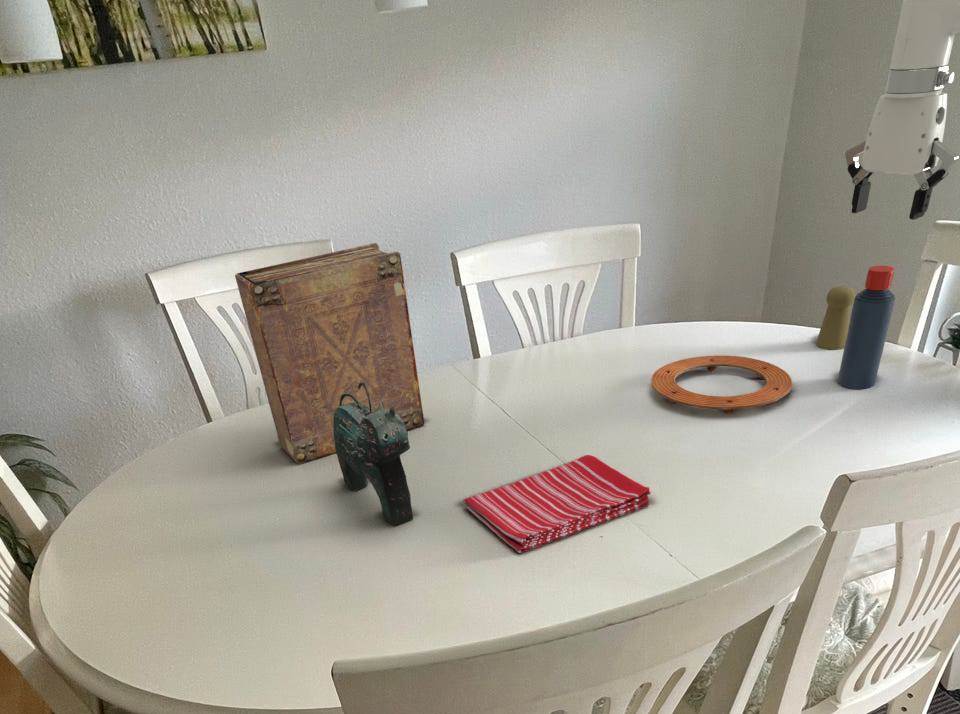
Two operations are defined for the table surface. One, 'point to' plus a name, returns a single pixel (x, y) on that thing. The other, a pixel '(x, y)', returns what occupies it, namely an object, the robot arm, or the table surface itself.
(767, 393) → the ring
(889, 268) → the cap
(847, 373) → the bottle
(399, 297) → the book
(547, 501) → the dish towel
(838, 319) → the olive pawn figure
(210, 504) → the table surface
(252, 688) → the table surface
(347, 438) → the dark green carved figure
